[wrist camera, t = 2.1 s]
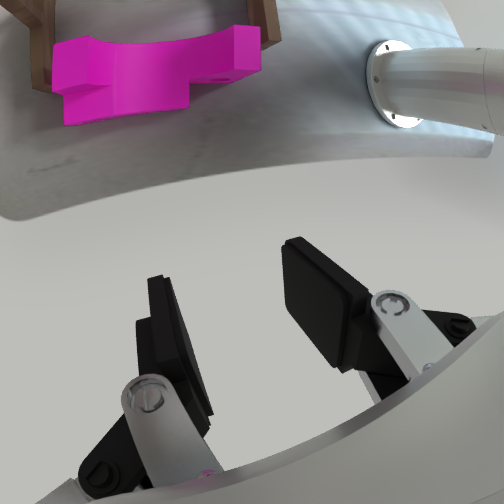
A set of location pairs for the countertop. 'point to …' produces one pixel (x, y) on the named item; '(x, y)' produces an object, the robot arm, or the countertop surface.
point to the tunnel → (43, 32)
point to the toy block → (147, 72)
